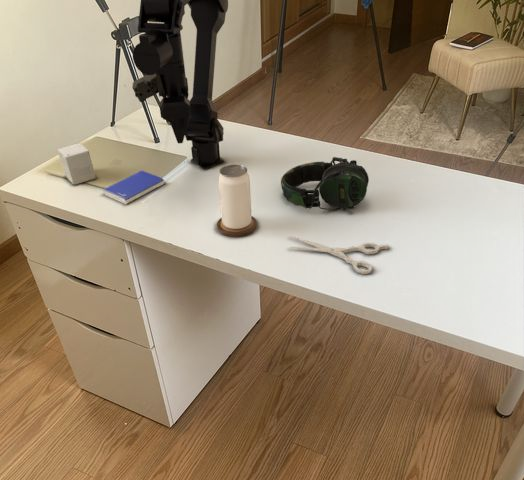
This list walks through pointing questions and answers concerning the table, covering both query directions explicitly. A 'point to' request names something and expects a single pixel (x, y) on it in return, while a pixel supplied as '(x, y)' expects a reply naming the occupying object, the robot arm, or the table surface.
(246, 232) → the coaster
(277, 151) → the table surface
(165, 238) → the table surface
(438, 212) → the table surface
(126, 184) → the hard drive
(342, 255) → the scissors
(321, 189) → the headphones
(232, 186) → the can
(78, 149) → the product box
